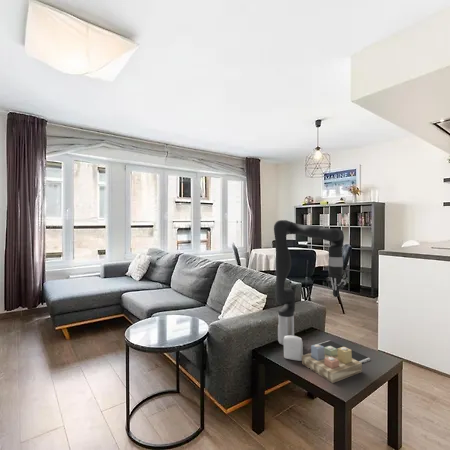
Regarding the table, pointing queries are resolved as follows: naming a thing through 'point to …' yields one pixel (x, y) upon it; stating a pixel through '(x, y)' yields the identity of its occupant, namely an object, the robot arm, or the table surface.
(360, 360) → the smartphone
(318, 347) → the button
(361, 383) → the table surface
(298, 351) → the photo printer
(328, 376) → the board
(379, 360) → the table surface
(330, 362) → the button
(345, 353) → the button
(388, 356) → the table surface
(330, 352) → the button
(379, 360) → the table surface
